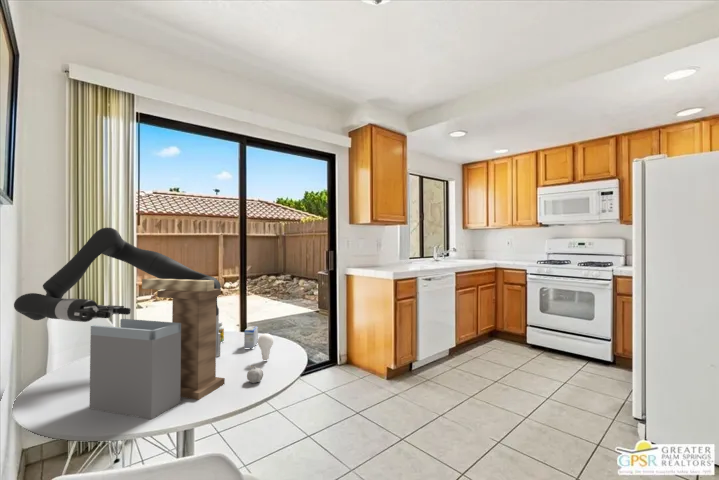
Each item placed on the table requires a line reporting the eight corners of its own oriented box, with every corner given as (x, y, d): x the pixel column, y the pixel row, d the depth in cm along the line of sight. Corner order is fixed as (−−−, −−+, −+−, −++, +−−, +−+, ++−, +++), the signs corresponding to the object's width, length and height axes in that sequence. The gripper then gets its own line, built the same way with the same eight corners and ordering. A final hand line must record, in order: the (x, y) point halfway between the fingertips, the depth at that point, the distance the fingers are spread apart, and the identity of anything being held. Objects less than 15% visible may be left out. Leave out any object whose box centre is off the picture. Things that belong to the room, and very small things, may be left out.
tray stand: (89, 408, 96) (90, 326, 97) (122, 393, 106) (123, 318, 106) (151, 419, 91) (152, 331, 91) (180, 402, 100) (181, 323, 101)
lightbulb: (276, 359, 138) (276, 332, 138) (267, 364, 132) (267, 336, 133) (263, 357, 140) (263, 331, 140) (254, 362, 134) (254, 334, 135)
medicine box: (248, 344, 159) (248, 326, 159) (258, 344, 160) (258, 325, 160) (244, 349, 151) (244, 330, 152) (254, 349, 152) (254, 330, 152)
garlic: (244, 380, 117) (244, 365, 117) (259, 377, 120) (259, 362, 120) (250, 386, 112) (250, 370, 112) (265, 382, 115) (266, 367, 115)
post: (151, 392, 107) (152, 291, 107) (180, 378, 118) (181, 286, 119) (198, 399, 102) (199, 293, 103) (224, 384, 114) (225, 288, 114)
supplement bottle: (222, 340, 166) (222, 320, 167) (224, 342, 162) (225, 322, 162) (210, 342, 163) (210, 322, 164) (212, 344, 159) (213, 324, 159)
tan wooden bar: (141, 288, 114) (142, 279, 114) (150, 287, 117) (150, 278, 117) (207, 291, 107) (207, 281, 107) (214, 290, 110) (214, 280, 110)
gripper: (57, 301, 110) (103, 304, 108) (95, 297, 124) (136, 299, 122) (54, 324, 109) (100, 328, 108) (93, 317, 123) (134, 320, 122)
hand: (120, 313), depth 115 cm, fingers open, 8 cm apart
